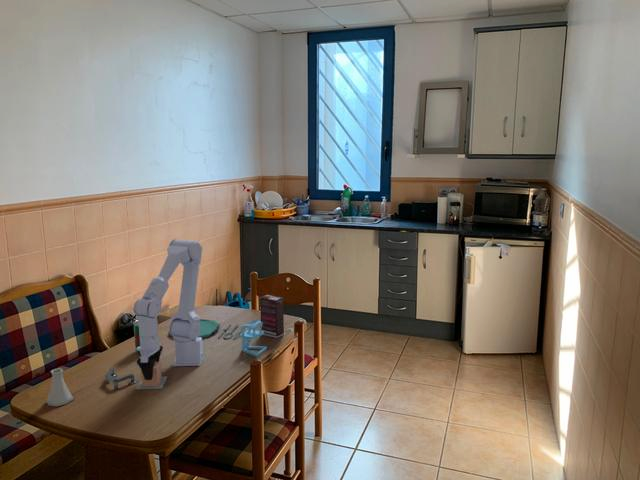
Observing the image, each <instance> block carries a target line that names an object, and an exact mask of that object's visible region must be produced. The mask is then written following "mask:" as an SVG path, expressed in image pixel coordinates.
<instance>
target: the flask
mask: <svg viewBox="0 0 640 480" xmlns="http://www.w3.org/2000/svg"><path fill="white" fill-rule="evenodd" d="M63 372H64V369H63V368H59V367H58V368H54V369H51V370H50V373H51V376H52V377H51V385H50V389H49V392H48V395H47V397H46V404H47V405H48V407H56V408H57V407H60V406H63V405H67V404H69V403H70V402H72V401H73V400H74V397H73V395H72V394H71V392H70V390H69V388H68V386H67V384H66V382H65V379H64V377H63Z"/></svg>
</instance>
